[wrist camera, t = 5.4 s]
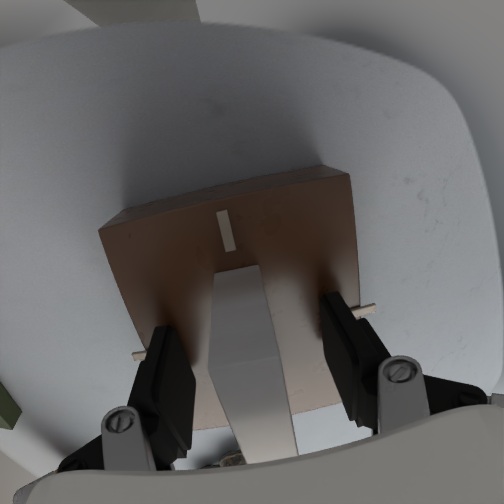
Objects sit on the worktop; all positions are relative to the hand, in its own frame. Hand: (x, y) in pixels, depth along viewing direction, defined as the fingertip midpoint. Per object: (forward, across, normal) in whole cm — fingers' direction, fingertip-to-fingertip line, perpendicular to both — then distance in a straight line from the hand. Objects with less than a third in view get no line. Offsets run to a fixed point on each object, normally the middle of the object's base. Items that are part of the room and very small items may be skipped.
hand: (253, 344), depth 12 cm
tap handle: (+1, 0, 0) cm, 1 cm away
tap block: (+4, 0, 0) cm, 4 cm away
